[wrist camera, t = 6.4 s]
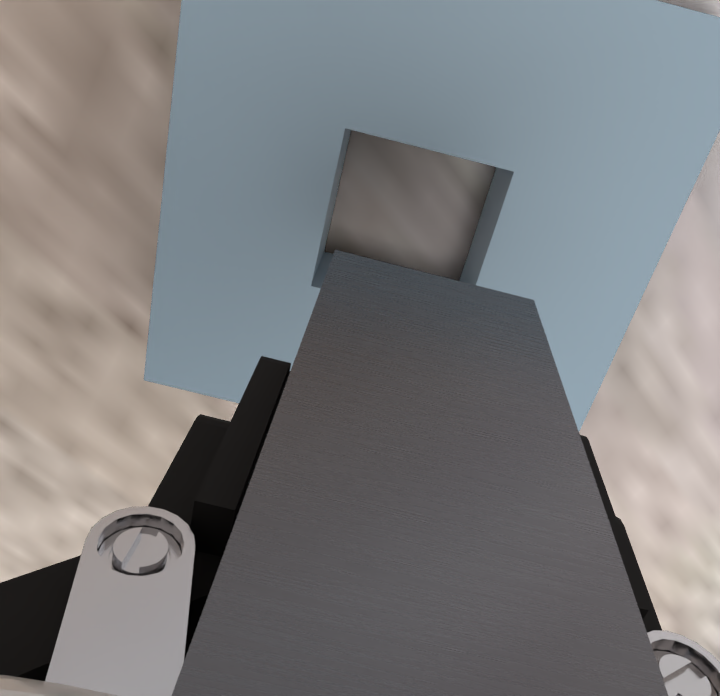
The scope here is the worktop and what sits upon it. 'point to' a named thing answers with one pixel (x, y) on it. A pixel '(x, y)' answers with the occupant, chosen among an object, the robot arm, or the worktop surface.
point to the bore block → (433, 132)
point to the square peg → (421, 514)
